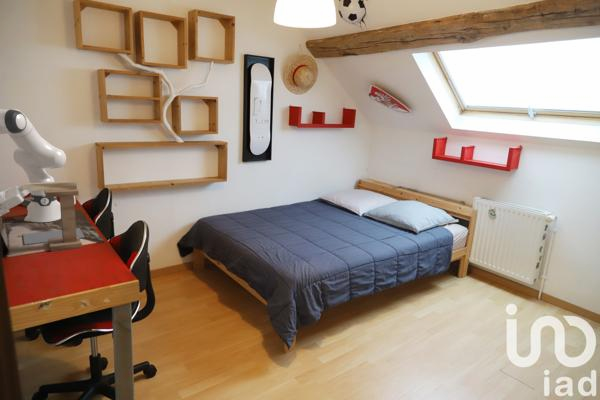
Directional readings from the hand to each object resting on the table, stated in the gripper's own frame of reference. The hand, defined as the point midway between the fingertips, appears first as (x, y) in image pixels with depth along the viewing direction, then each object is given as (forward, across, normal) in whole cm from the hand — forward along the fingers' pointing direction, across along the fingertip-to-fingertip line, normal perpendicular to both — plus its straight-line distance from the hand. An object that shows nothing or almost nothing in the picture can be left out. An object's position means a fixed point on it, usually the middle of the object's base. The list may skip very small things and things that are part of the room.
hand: (31, 186), depth 173 cm
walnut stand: (-5, 0, +30) cm, 30 cm away
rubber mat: (-7, +15, +28) cm, 33 cm away
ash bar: (+5, 0, +5) cm, 7 cm away
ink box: (+4, +75, +35) cm, 82 cm away
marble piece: (-10, +83, +27) cm, 88 cm away
